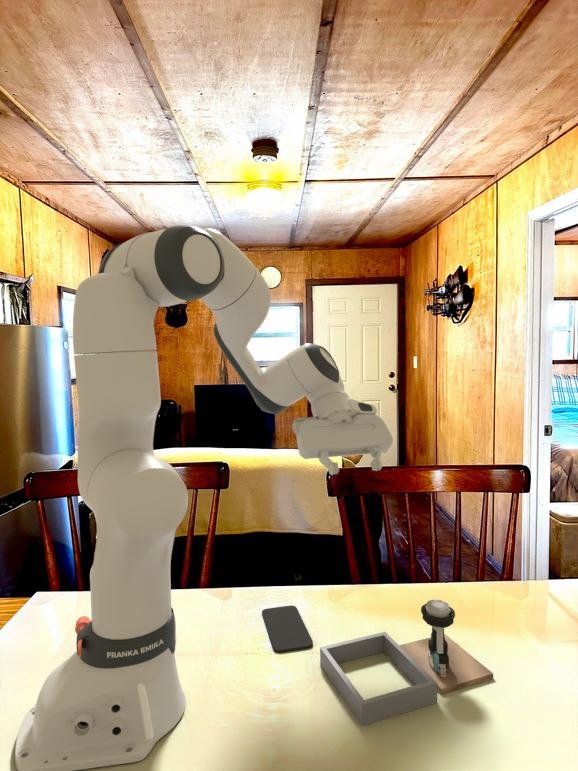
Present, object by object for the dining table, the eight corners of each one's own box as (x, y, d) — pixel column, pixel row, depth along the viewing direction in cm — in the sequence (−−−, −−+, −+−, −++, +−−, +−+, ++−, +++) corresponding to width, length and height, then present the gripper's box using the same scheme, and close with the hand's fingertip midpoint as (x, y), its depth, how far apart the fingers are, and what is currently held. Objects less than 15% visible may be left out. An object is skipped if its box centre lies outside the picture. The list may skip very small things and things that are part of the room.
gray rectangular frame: (362, 725, 66) (361, 705, 66) (320, 664, 80) (320, 647, 80) (437, 702, 71) (437, 683, 70) (385, 648, 84) (385, 631, 84)
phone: (295, 604, 100) (314, 644, 85) (295, 608, 100) (315, 649, 85) (260, 609, 98) (274, 651, 83) (260, 613, 98) (274, 655, 83)
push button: (461, 680, 74) (460, 618, 74) (426, 679, 75) (425, 617, 74) (450, 654, 81) (450, 597, 80) (418, 653, 81) (418, 596, 81)
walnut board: (441, 694, 72) (441, 689, 72) (397, 650, 84) (397, 645, 84) (493, 678, 76) (493, 673, 76) (444, 638, 87) (444, 633, 87)
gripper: (293, 408, 96) (312, 465, 87) (381, 405, 103) (407, 457, 94) (286, 428, 100) (303, 484, 92) (371, 423, 107) (395, 475, 98)
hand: (356, 470), depth 93 cm, fingers open, 8 cm apart
